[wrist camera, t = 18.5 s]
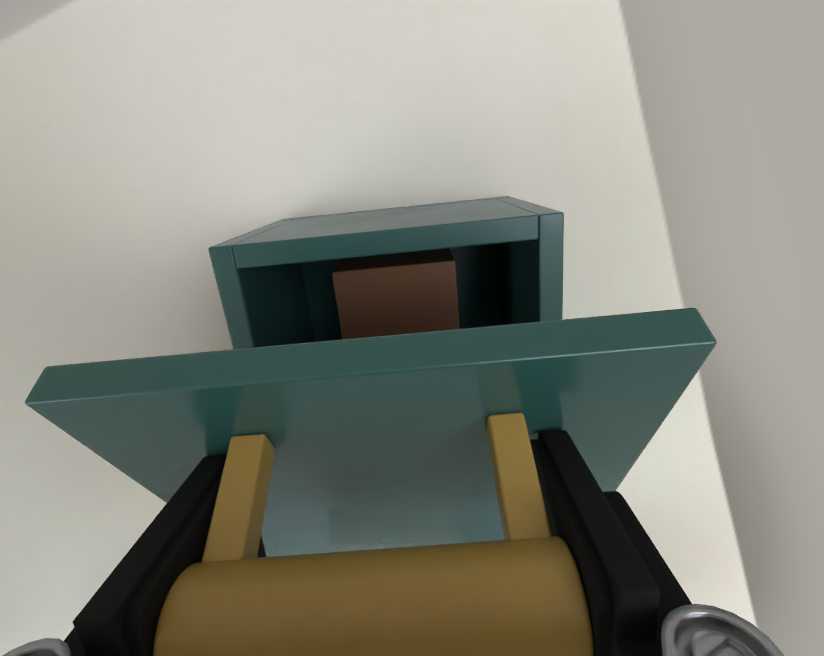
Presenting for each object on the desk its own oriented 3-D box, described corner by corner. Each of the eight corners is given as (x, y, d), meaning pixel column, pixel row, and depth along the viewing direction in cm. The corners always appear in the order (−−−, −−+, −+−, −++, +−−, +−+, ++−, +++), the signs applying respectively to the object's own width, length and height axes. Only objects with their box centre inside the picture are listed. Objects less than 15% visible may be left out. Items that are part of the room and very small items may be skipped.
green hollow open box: (282, 219, 23) (207, 248, 15) (509, 196, 23) (564, 212, 14) (325, 445, 28) (286, 564, 19) (515, 429, 27) (559, 545, 19)
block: (348, 250, 23) (330, 272, 18) (447, 241, 23) (455, 260, 18) (361, 342, 24) (349, 384, 20) (453, 334, 24) (463, 374, 19)
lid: (44, 364, 8) (-165, 713, 5) (696, 306, 8) (911, 648, 5) (284, 563, 19) (266, 711, 16) (560, 543, 19) (596, 692, 16)
